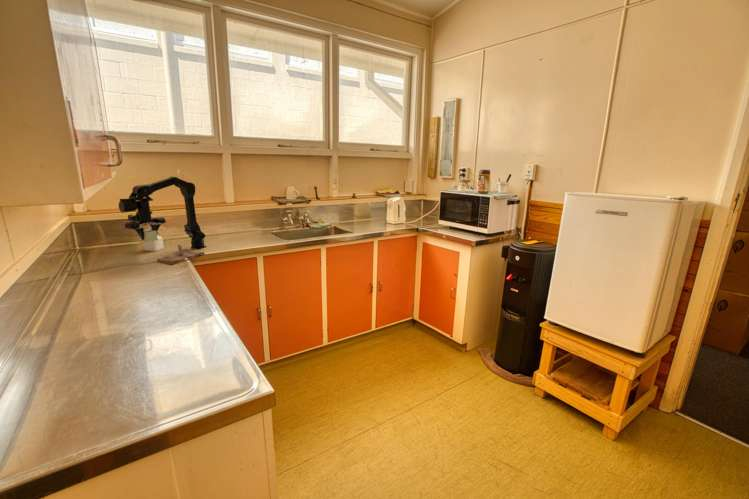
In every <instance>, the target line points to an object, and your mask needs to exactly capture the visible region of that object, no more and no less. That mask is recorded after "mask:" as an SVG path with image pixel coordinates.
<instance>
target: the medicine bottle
mask: <svg viewBox="0 0 749 499" xmlns="http://www.w3.org/2000/svg"><path fill="white" fill-rule="evenodd" d="M148 230H152V228H151V229H150V228H149V229H148ZM157 237H158V240H155V241H151V242H142V244H143V247H144V248H143V249H144V251H147V252H148V251H150V252H157V251H159V250H162V249H164V247H165V246H164V242H163V241H164V240H163V236H159V230H158V231H157Z"/></svg>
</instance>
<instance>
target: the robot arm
mask: <svg viewBox="0 0 749 499" xmlns="http://www.w3.org/2000/svg"><path fill="white" fill-rule="evenodd" d="M171 186H175V187H176V188H178V189H179V191H180V193H181V195H182V196H183V199H184V206H185V214H186V224H184V225H183V226H184V227H183V229H184V232H185V234H186V235H188V238H190V239H191V240H190V244H191V246H190V249H193V250H200V249H203V248H207V245H205V240H204V239H205V238H206V234H205V233H204V232H203V231H202V230H201V227H200V225H199V223H198V222H197V215H196V208H195V201H194V199H195V198H194V197H195V195H196V185H195V184H194V182H188V181H186V180H184V179H181V178H179V177H177V176H169V177H167V178H164V179H161V180H158V181H156V182H151V183H149V184H138V185H135V186H133V187H132V192H131V194H129V197H128V198H119V202H118V209H119V211H120V212H121V213H128V212H131V213H132V212H135V215H134V214H133V213H132V214H128V215H127V220H128V222H125V224H124V228H125V229H129V230H134V231H135V232H136V233H137V234H138V237H139V236H140V238H141V239H142V240H144V231H145V230H144V227H142V226H148V225H149V226H150V227H151V229H152V230H154V231H158V232H159V228H160V226H162V224H166V223H167V222H166V219H165V217H152V214H153V211H151V206H150V202H153V201H154V199H153V198H152V197H150V196H151V195H152V194H153V193H154V192H155V193H156V192H157V191H160V190H162V189H165V188H168V187H171ZM136 210H137V211H136Z"/></svg>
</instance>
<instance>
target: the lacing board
mask: <svg viewBox="0 0 749 499" xmlns="http://www.w3.org/2000/svg"><path fill="white" fill-rule="evenodd" d="M177 248H178V252H175V253H171V254H169V255H165V256H161V257H158V258H156V261H157V262H159V263H165V264H169V265H175V264H179V263H182V262H185V261H184V259H185V258H188V259H189V260H192V259H194V258H199V257H200V256H199V255H201V254H204V255H205V251H201V250H196V249H185V250H183V244H181V243H180V244H177ZM201 256H202V255H201Z"/></svg>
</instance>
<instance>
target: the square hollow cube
mask: <svg viewBox="0 0 749 499" xmlns="http://www.w3.org/2000/svg"><path fill="white" fill-rule="evenodd" d="M158 237H159V236H158ZM158 237H157V231H154V230H149V229H146V230H144V240H142V239H141V238H140V236H139V235H138V239H139V242H142V243H143V242H151V241H155V240H158Z"/></svg>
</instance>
